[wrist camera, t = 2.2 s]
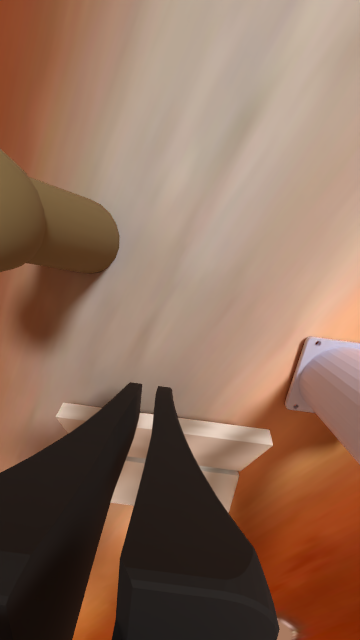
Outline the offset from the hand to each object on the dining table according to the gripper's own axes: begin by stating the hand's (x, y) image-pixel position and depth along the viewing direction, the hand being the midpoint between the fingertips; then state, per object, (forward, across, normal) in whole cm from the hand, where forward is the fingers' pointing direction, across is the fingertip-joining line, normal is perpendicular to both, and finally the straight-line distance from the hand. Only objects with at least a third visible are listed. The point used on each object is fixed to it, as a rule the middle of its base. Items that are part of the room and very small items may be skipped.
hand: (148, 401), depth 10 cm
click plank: (+7, -1, +10) cm, 12 cm away
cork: (+10, +8, -8) cm, 15 cm away
